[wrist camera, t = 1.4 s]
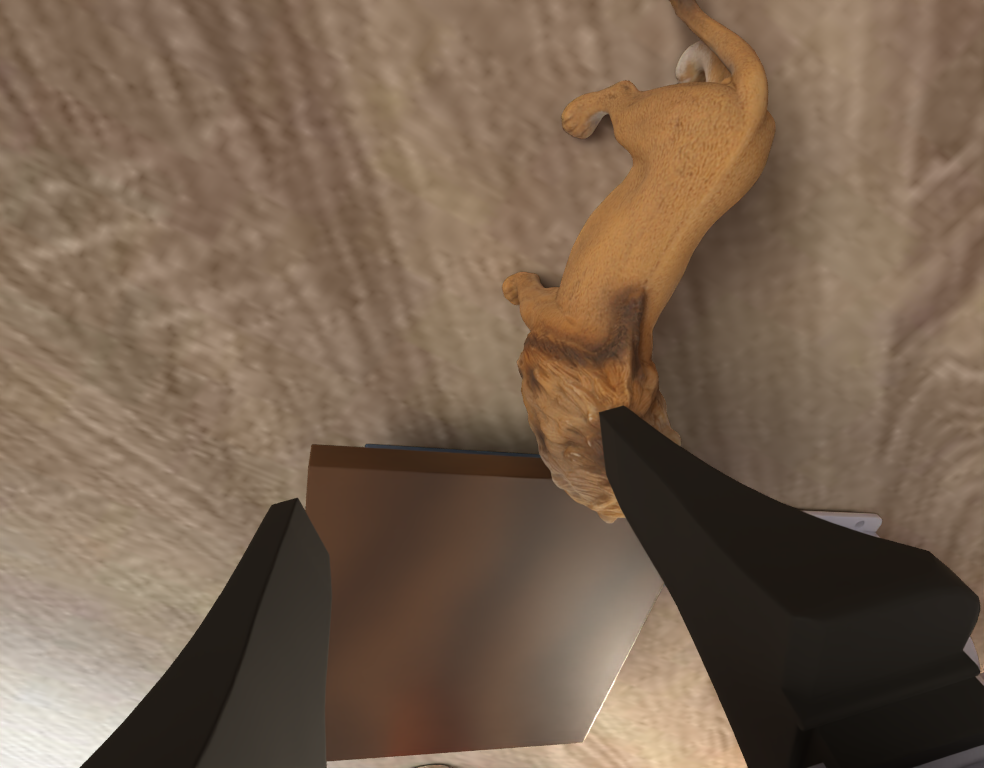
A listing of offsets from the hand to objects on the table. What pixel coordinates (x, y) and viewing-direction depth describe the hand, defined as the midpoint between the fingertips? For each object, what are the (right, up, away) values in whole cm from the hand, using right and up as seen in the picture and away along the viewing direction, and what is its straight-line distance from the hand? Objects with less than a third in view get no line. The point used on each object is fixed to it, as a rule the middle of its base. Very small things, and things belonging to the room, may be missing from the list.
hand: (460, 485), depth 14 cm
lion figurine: (+4, +8, +7) cm, 12 cm away
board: (0, -8, +12) cm, 15 cm away
